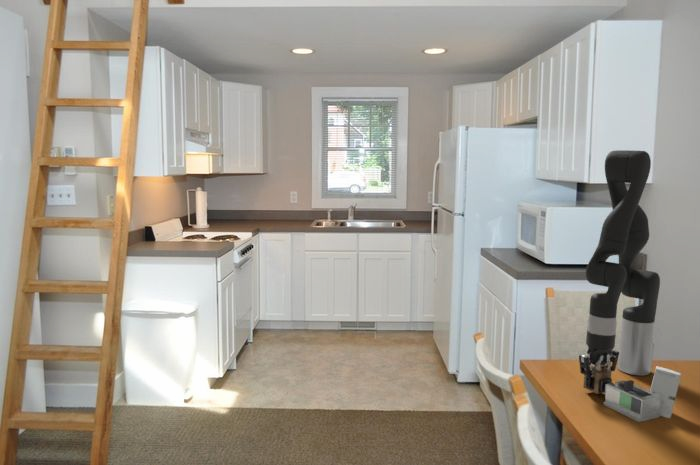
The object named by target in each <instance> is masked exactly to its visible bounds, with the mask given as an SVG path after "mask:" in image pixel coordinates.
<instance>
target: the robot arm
mask: <svg viewBox="0 0 700 465" xmlns="http://www.w3.org/2000/svg"><path fill="white" fill-rule="evenodd" d="M651 162H652V160H651V156H650V154H649V153H648V152H647V151H645V150H625V149H623V150H622V149H618V150H612V151H609V152H608V153H607V155H606V157H605V160H604V176H605V180H606V184H607V190H608V192H609V193H608V194H609V197H610V200H611V207H612V210H611V211H610V213H608V215H607V217H606V218H605V220H604V222H603V224H602V227H601V231H600V235H599V236H600V237H599V241H598V244H597V247H596V248H595V250H594V252H593V254H592V257H591V258H590V259H589V262H588V264H587V265H586V268H585V278H586V280H587V281H588V283H590V284H591V285H594V286H600V287H607V291H606V292H598V293H596V292H595V293H594V294H592V295H591V296H590V300H589V314H588V317H587V318H588V319H587V326H586V338H585V339H586V340H585V344H586V345H587V347H588V348H587V351H586V353H585V354H579V355H578V360H579V371H580V374H582V375H586V387H587V388H588V389H591V390H592V389H594V380H595V377H594V376H595V372H596V371H597V370H598V369H599V366H600V367H601V368H605V369H606V370H610V371H612V372H615V371H616V367H617V369H618V370H619V371H621V372H623V373H626V374H629V375H634V376H648V375H650V373H652V370H653V369H652V368H653V359H654V358H653V357H654V348H655V344H654V342H653V341H654V333H655V332H654V331H655V320H656V314H657V307H658V306H657V305H658V298H659V295H660V294H659V293H660V286H661V278H660V274H658V272H656V271H651V270H643V269H637V268H635V267H634V261H635V259H636V257H637V256H638V255H639V253H640V252H641V251H642V250H643V249H644V248H645V246H646V245H647V243H648V241H649V239H650V228H649V219H648V216H647V214H646V213H645V211H644V209H643V207H641V206H640V205H639V203H640V200H641V198H642V195H643V193H644V190H645V187H646V184H647V182H648V179H649V175H650V171H651V166H652V164H651ZM627 184H629V186H628V187H629V188H628V187H627V186H626V185H627ZM612 256H618V263H617V262H612V261H611V262H610V261H607V260H608V259H609V258H610V257H612ZM621 294H622V295H623V296H625V297H628V298H632V299H633V298H634V299H638V300H643V301H642V304H640V305H636V306H635V305H634V306H628V307H625V308H623V310H622V316H621V318H622V319H621V326H620V327H621V330H620V340H619V350H618V351H617V350H615V349H614V348H615V347H616V337H617V336H616V335H617V312H618V311H617V310H618V303H619V300H620V296H621ZM617 364H618V365H617ZM591 368H592V372H590V369H591ZM585 369H586V370H585ZM588 389H587V390H588Z"/></svg>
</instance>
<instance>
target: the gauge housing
mask: <svg viewBox="0 0 700 465" xmlns="http://www.w3.org/2000/svg"><path fill="white" fill-rule="evenodd" d="M623 381H626V380H623ZM614 384H615V383H614ZM614 384H611V383H609V384H607V386H606V394H605V396H604V398H605V400H604V401H603V405H604V406H605V407H607V408H609V409H611V410H613V411H615V412H617V413H620V414H621V415H623V416H626V417H627V418H629V419H632V420H634V421H636V422H638V423H642V422H645V421H649V420H653V419H658V418H661V416H660V413H659V406H660V395H658V394H655V393H653V392H650V390H648V389H646V388H643V387H641V386H639V385H636V384H634V386H633V391H632V392H635V393H637V395H636V394H634V393H632V392H630V391H629V392H626V391H624V389H623V388H621V387H616V386H615V385H614Z"/></svg>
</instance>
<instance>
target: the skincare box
mask: <svg viewBox="0 0 700 465" xmlns="http://www.w3.org/2000/svg"><path fill="white" fill-rule="evenodd" d="M681 378H682V373H681V372H679V371H675V370H672V369H669V368H665V367H661V366H659V365H656V366H655V371H654V374H653V377H652V382H651V386H650V390H649V391H650V392H653V393H655V394H658V395H660V406H659V413H660V417H662V418H663V417H664V418H666V419H671V418H672V414H673V409H674V406H675V403H676V402H675V401H676V397H677V393H678V389H679V385H680V381H681Z"/></svg>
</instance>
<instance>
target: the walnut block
mask: <svg viewBox="0 0 700 465" xmlns="http://www.w3.org/2000/svg"><path fill="white" fill-rule="evenodd" d="M585 370H586V369H585ZM590 372H592V368H591V369H590ZM612 372H613V371H610V370H606V369H605V368H601V367H600V366H599V369H598V370H597V371H596V372H595V376H594V377H595V380H594V389H592V390H591V389H588V388H587V387H586V375H584V374H583V375H584V376H583V386H582V387H583V388H584V389H586V390H588V391H590V392H593V393H594V394H595V395H600V394H602V393H601V392H599V385H600V379H605V378H611V379H612Z"/></svg>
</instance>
